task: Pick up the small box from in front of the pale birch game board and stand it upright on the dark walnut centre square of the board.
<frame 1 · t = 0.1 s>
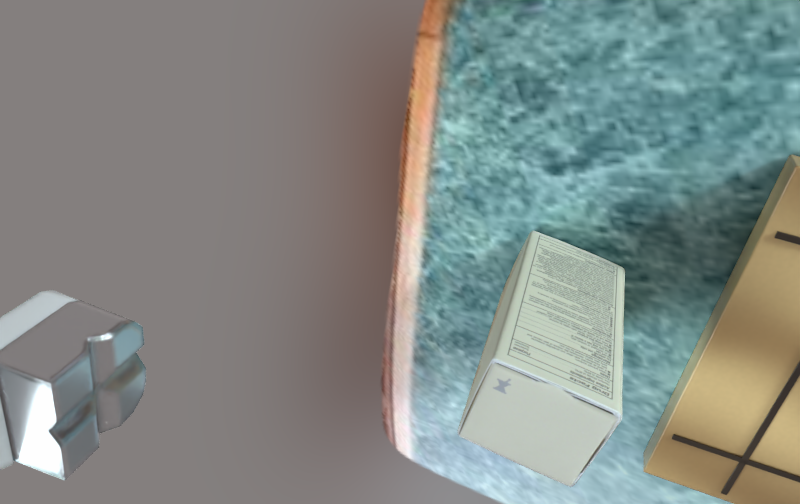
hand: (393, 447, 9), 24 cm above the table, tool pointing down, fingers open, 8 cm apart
box: (564, 279, 34), on the table
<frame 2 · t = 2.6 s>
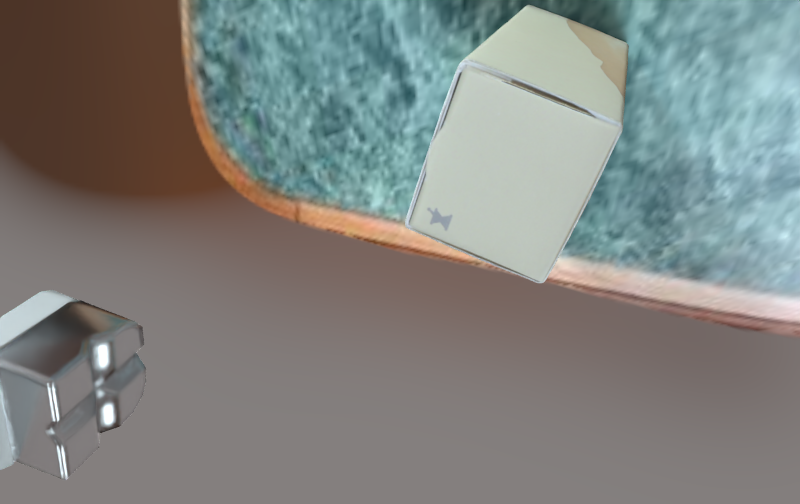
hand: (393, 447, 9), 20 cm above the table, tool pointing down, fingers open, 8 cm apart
box: (552, 79, 27), on the table
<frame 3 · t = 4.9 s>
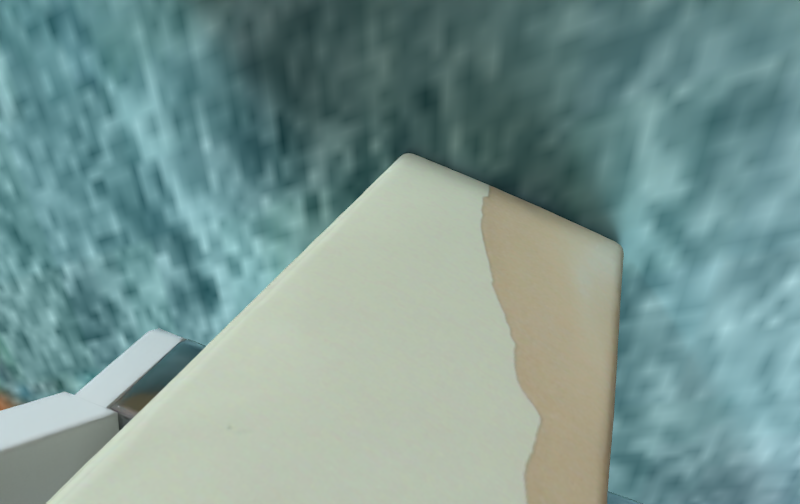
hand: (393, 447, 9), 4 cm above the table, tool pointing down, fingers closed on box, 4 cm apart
box: (467, 292, 13), on the table, touching gripper
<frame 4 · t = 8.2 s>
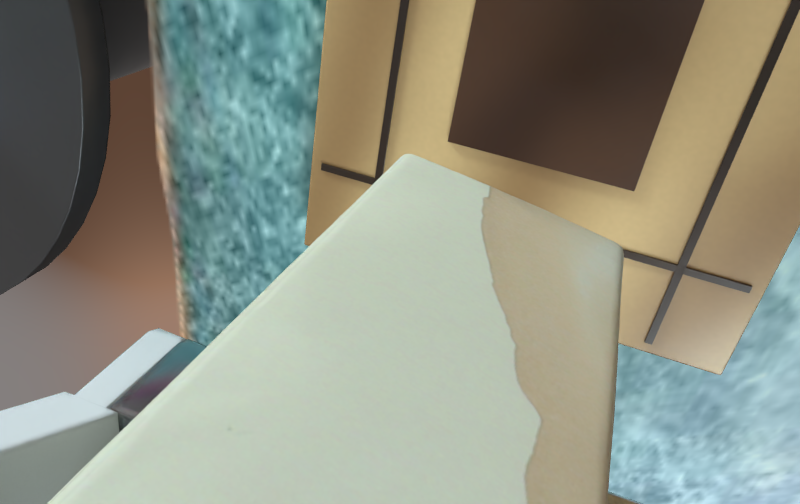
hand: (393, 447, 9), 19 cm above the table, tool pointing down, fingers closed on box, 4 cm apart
box: (467, 292, 13), point 14 cm above the table, touching gripper
board: (569, 61, 24), on the table
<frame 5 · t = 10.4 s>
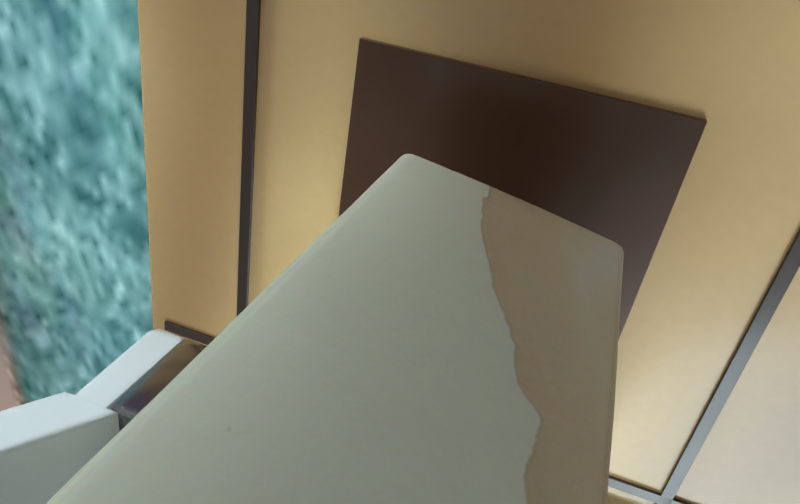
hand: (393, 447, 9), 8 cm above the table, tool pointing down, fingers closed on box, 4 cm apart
box: (467, 293, 13), point 4 cm above the table, touching gripper
board: (499, 202, 16), on the table
when the fingers open (6 cm above the table, at t = 11.6 s): box stays where it is, resting on board.
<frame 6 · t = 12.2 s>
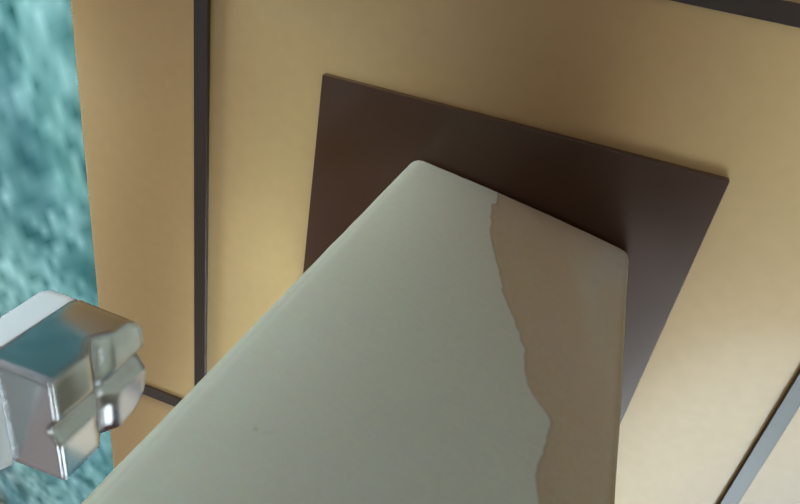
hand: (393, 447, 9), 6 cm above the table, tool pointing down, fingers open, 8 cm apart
box: (474, 296, 13), point 1 cm above the table, touching board
board: (487, 256, 14), on the table
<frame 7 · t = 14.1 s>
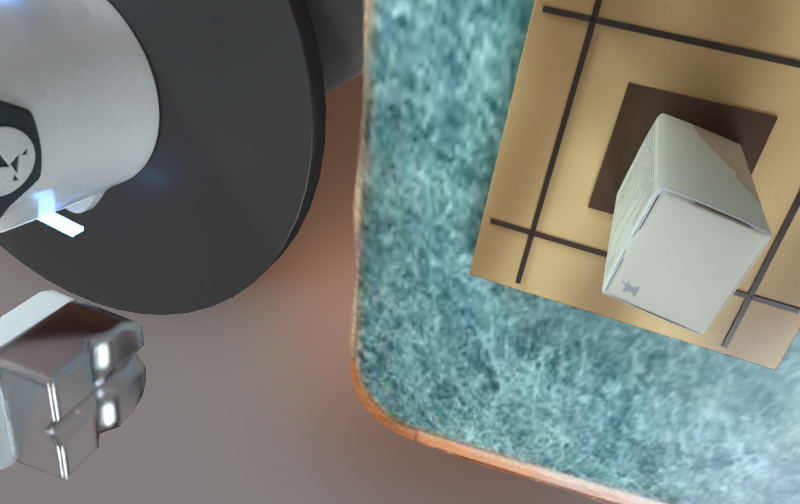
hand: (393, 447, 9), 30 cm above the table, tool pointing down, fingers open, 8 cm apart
box: (676, 167, 34), point 1 cm above the table, touching board
board: (675, 155, 36), on the table
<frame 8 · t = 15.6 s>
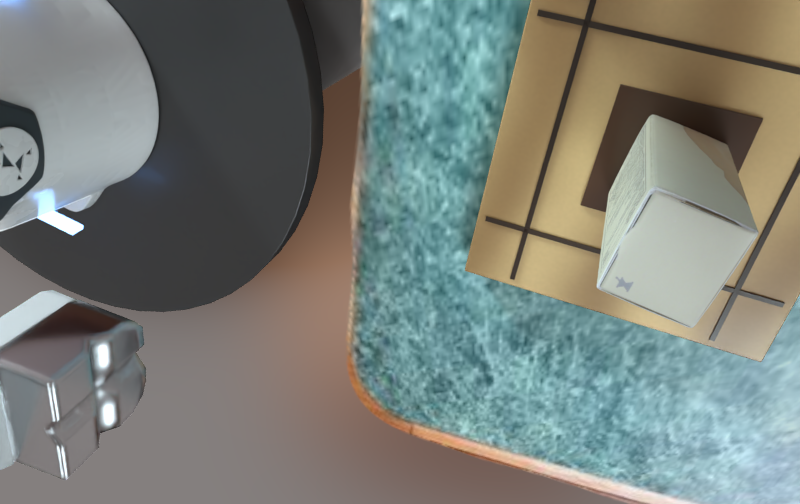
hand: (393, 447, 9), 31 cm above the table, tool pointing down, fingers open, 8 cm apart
box: (666, 166, 36), point 1 cm above the table, touching board
board: (664, 154, 37), on the table
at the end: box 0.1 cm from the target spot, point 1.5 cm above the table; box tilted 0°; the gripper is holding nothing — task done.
